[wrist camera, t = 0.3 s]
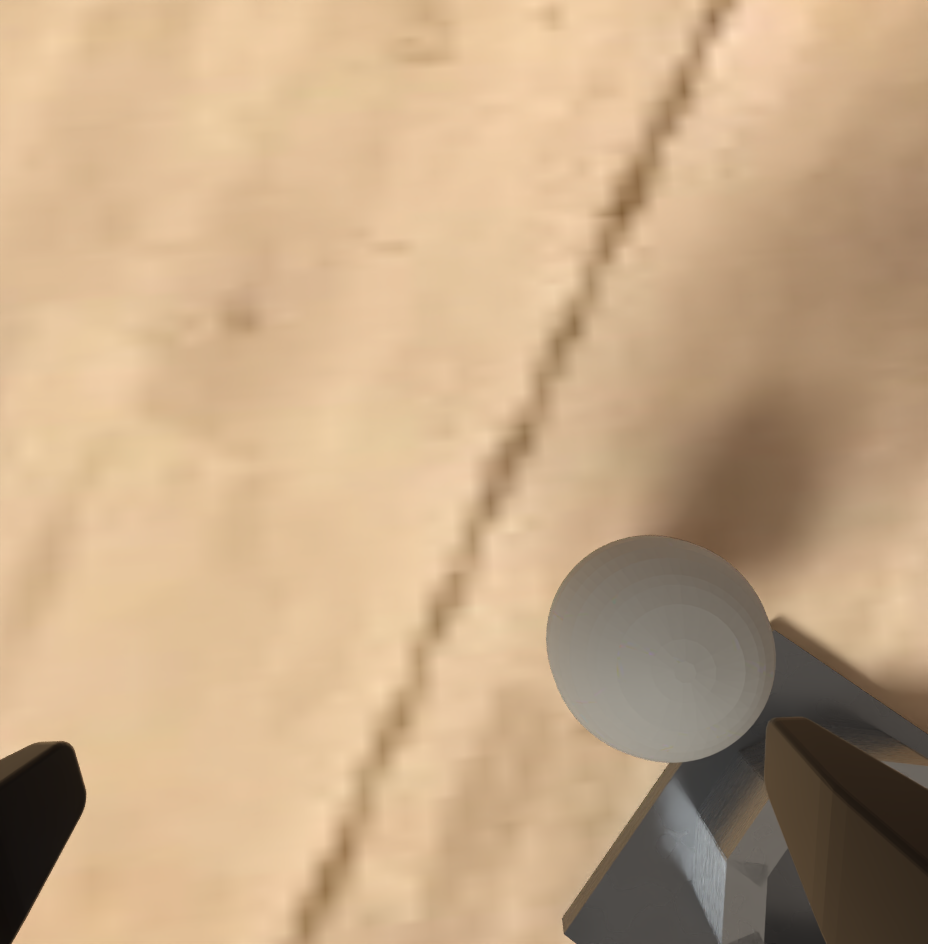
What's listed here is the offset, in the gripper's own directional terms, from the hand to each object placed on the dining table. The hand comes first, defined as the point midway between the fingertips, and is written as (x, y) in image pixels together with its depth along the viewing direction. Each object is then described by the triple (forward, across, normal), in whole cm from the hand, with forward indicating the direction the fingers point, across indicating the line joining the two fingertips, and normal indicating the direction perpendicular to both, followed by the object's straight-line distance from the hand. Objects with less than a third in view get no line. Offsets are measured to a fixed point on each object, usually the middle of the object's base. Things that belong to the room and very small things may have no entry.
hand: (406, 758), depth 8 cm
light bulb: (+15, -5, +5) cm, 16 cm away
